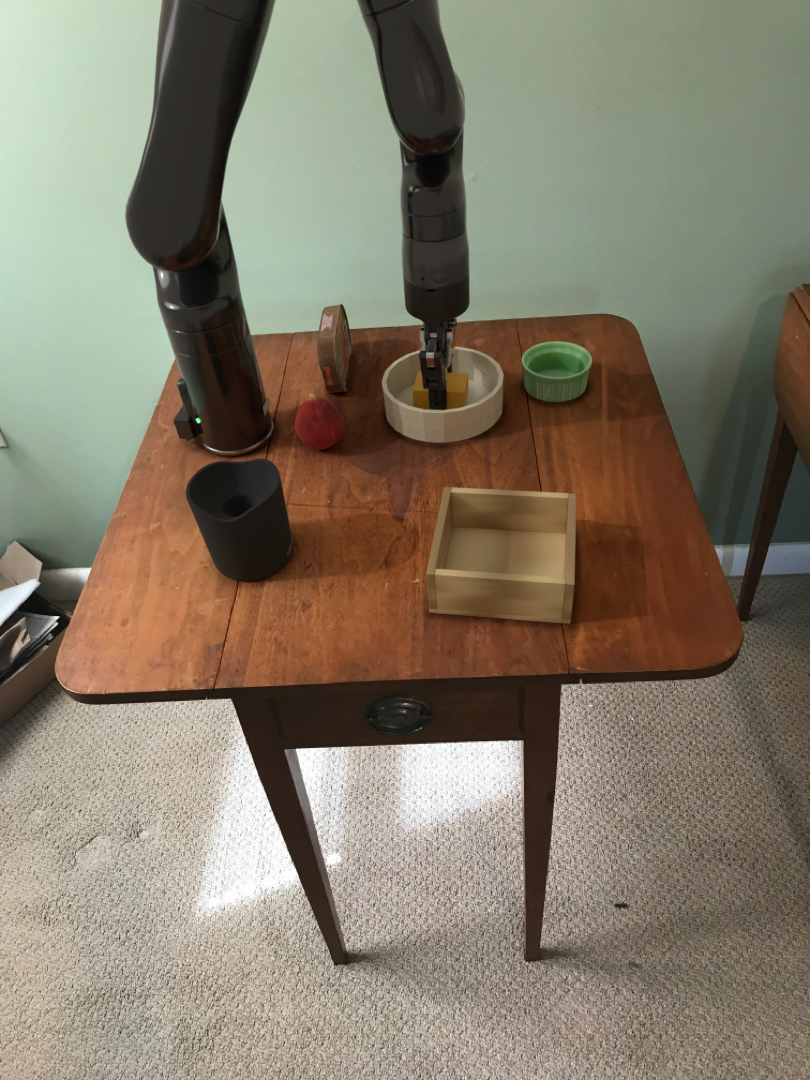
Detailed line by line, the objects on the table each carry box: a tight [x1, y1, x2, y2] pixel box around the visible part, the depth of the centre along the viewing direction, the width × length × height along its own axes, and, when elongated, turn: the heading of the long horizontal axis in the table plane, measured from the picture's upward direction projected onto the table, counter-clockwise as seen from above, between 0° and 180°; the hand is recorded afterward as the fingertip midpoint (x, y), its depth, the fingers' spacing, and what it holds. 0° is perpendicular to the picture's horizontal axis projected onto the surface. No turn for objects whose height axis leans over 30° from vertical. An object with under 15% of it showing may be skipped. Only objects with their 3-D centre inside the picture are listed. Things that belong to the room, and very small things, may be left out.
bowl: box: [381, 346, 505, 444], centre depth 98 cm, size 15×15×5 cm
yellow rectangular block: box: [412, 371, 468, 410], centre depth 98 cm, size 6×4×3 cm
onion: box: [294, 392, 344, 451], centre depth 93 cm, size 6×6×8 cm
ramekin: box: [520, 341, 593, 403], centre depth 100 cm, size 9×9×4 cm
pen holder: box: [185, 458, 294, 582], centre depth 80 cm, size 9×9×10 cm
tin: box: [316, 303, 353, 394], centre depth 106 cm, size 15×3×8 cm, turn 179°
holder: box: [425, 486, 578, 625], centre depth 77 cm, size 14×13×6 cm
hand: (441, 396), depth 98 cm, fingers closed on yellow rectangular block, 4 cm apart
